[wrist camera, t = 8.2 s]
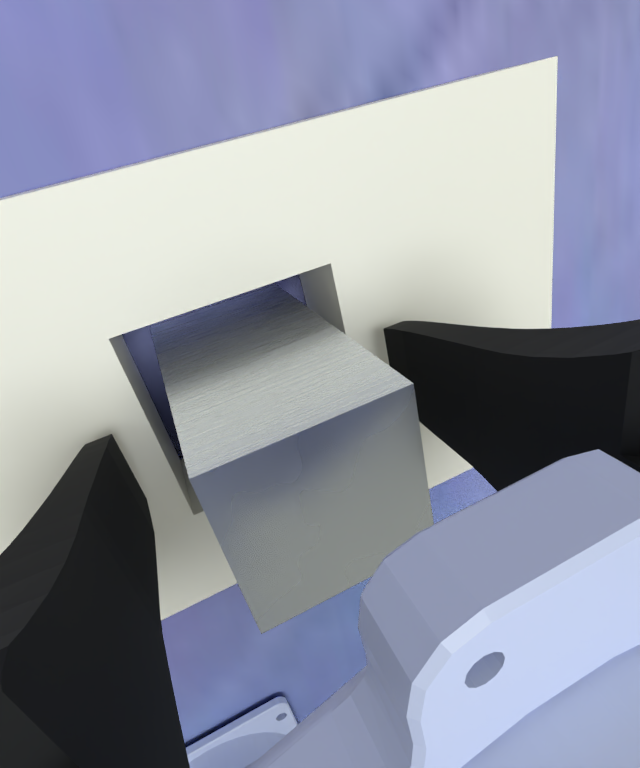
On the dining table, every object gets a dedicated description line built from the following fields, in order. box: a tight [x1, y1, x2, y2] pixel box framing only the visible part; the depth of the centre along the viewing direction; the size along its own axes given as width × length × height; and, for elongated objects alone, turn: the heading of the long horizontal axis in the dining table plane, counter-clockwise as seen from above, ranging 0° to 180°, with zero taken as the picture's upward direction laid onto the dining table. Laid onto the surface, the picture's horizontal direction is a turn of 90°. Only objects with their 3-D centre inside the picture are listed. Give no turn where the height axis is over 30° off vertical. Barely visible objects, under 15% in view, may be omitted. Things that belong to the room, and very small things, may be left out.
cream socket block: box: [0, 56, 558, 620], centre depth 14 cm, size 12×20×3 cm, turn 104°
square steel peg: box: [150, 284, 434, 634], centre depth 12 cm, size 4×4×8 cm
